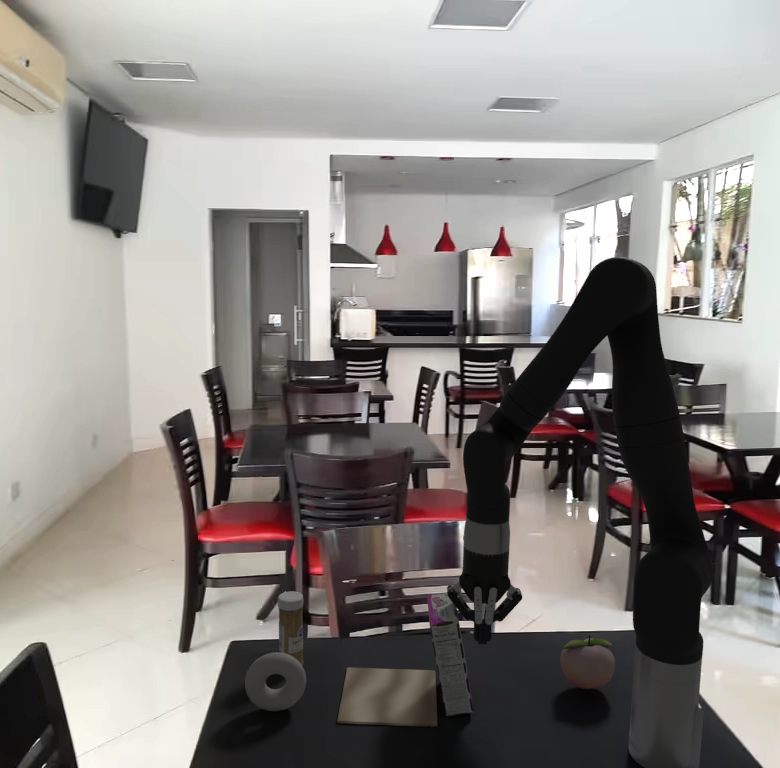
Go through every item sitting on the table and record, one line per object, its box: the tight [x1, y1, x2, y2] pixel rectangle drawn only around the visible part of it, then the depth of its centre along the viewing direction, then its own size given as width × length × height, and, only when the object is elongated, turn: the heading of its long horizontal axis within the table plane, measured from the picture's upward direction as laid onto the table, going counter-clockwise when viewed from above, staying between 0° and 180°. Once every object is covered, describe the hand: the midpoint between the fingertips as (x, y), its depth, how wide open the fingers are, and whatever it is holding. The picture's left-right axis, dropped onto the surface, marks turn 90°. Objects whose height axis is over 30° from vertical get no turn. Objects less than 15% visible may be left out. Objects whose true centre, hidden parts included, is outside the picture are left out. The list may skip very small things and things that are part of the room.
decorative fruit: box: [560, 634, 616, 690], centre depth 125 cm, size 9×8×10 cm
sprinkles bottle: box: [277, 591, 304, 666], centre depth 132 cm, size 5×5×13 cm
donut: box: [244, 651, 307, 712], centre depth 118 cm, size 10×4×10 cm, turn 97°
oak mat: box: [336, 666, 438, 728], centre depth 123 cm, size 16×16×1 cm
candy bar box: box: [426, 592, 475, 717], centre depth 121 cm, size 11×5×16 cm, turn 179°
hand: (482, 642), depth 121 cm, fingers closed
